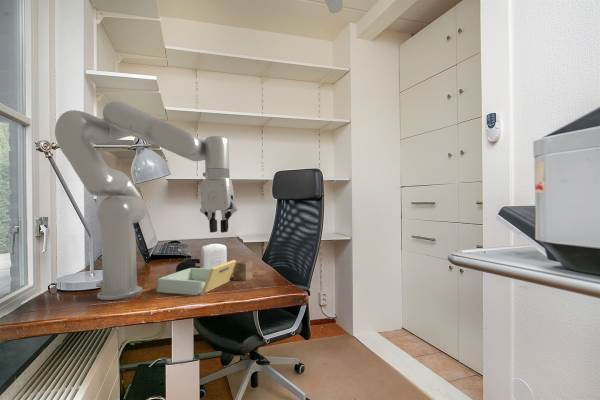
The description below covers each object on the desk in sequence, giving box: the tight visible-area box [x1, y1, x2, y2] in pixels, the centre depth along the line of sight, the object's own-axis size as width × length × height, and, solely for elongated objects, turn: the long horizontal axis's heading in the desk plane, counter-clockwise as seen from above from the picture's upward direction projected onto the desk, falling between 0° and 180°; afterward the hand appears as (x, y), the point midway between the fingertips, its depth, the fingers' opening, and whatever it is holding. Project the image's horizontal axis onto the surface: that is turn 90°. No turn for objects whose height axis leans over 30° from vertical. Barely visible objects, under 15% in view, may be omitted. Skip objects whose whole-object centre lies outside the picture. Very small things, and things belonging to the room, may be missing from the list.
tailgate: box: [202, 259, 237, 294], centre depth 103 cm, size 1×14×8 cm, turn 162°
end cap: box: [175, 257, 201, 273], centre depth 125 cm, size 10×7×7 cm
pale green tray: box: [155, 267, 232, 296], centre depth 106 cm, size 17×17×5 cm
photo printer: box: [200, 243, 228, 269], centre depth 126 cm, size 10×4×12 cm, turn 125°
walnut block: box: [232, 260, 254, 282], centre depth 115 cm, size 5×5×7 cm
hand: (219, 231), depth 103 cm, fingers open, 3 cm apart
